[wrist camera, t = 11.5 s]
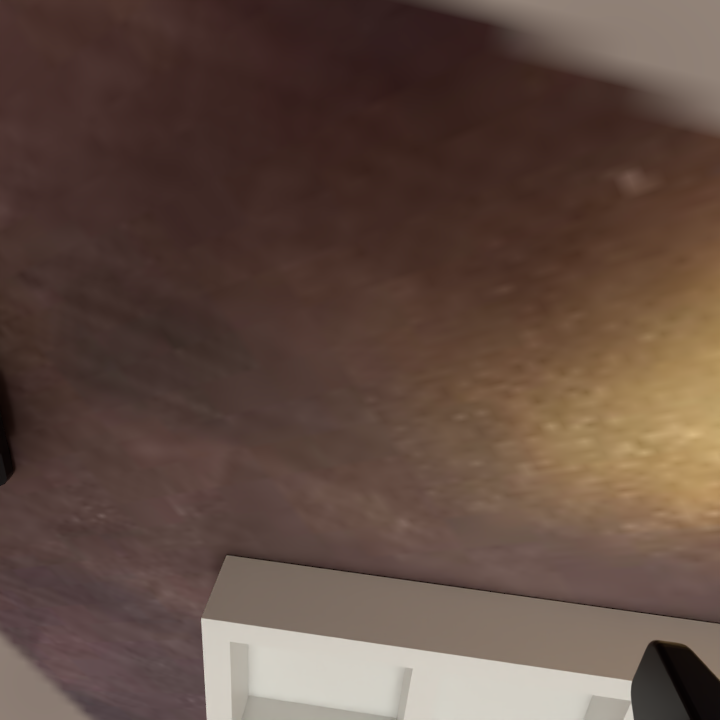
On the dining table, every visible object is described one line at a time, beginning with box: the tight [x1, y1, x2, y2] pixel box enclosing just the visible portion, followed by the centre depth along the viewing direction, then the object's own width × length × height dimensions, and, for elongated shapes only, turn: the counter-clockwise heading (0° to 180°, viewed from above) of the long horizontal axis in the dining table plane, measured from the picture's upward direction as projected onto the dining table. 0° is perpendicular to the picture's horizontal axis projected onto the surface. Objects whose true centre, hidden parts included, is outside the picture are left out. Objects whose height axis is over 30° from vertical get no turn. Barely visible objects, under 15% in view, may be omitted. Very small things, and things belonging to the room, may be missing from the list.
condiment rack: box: [201, 555, 720, 720], centre depth 25 cm, size 24×8×3 cm, turn 86°
